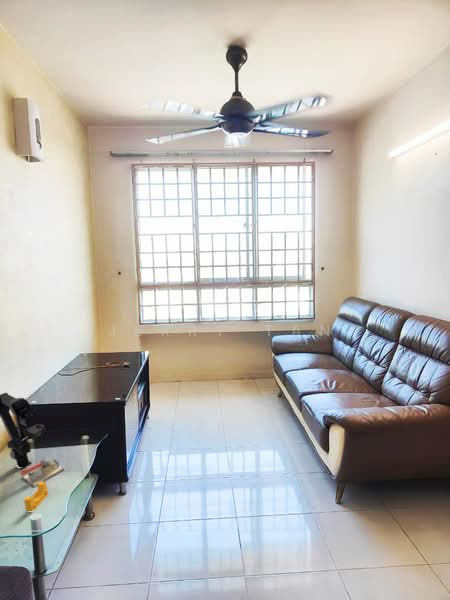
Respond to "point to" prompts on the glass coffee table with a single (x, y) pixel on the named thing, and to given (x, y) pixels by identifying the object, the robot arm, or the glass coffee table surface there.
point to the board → (43, 478)
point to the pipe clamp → (36, 497)
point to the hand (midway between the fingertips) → (30, 450)
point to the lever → (35, 466)
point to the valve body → (43, 471)
